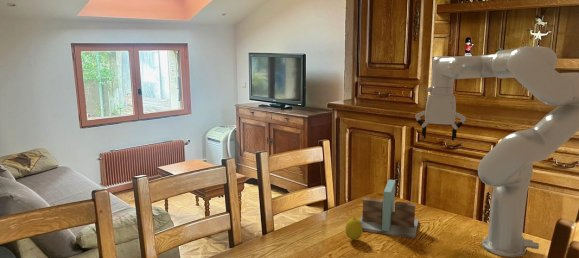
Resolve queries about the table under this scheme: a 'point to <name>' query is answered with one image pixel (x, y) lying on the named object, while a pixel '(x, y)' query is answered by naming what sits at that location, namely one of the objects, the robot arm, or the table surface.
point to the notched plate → (388, 204)
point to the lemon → (353, 228)
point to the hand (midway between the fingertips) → (438, 138)
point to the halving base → (392, 229)
